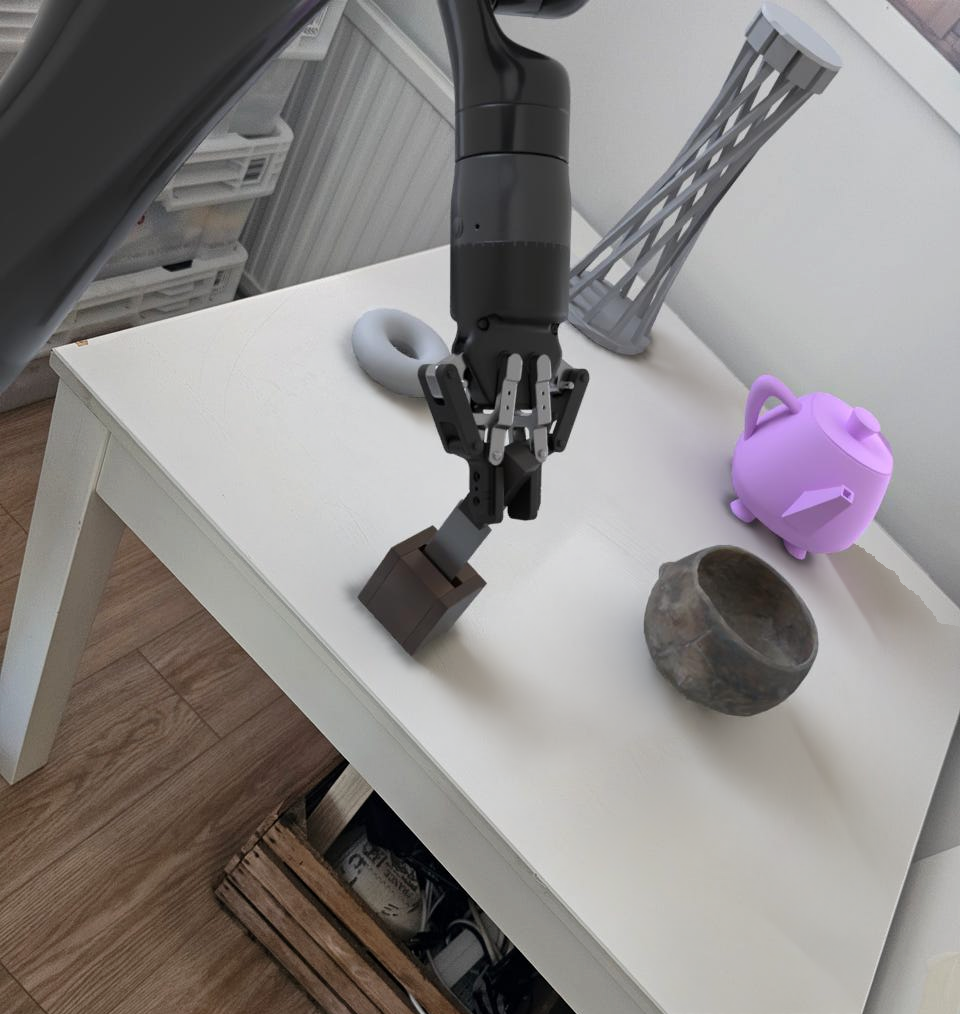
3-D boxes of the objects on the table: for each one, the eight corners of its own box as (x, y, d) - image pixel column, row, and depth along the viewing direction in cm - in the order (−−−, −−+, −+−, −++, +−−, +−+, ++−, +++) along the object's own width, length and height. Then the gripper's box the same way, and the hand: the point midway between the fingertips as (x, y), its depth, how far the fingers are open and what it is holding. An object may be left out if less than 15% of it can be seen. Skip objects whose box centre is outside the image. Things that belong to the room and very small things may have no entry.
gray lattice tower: (661, 336, 128) (870, 74, 104) (621, 368, 118) (842, 86, 95) (579, 263, 128) (769, -15, 105) (533, 289, 119) (731, -12, 95)
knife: (401, 574, 75) (497, 442, 66) (417, 565, 77) (514, 434, 68) (429, 604, 75) (529, 476, 66) (444, 594, 77) (545, 467, 67)
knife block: (356, 597, 77) (391, 547, 73) (398, 573, 81) (432, 524, 77) (410, 655, 76) (448, 608, 72) (449, 629, 80) (487, 583, 76)
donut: (331, 321, 96) (365, 399, 91) (345, 292, 93) (381, 369, 89) (421, 337, 102) (457, 410, 97) (437, 309, 99) (475, 383, 95)
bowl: (612, 581, 94) (680, 510, 87) (746, 639, 99) (819, 576, 93) (620, 704, 85) (697, 636, 78) (767, 760, 90) (850, 700, 84)
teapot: (673, 514, 106) (773, 409, 96) (697, 419, 120) (785, 320, 110) (824, 617, 109) (936, 526, 99) (829, 513, 123) (927, 424, 113)
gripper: (467, 225, 57) (464, 536, 61) (628, 249, 67) (617, 518, 71) (384, 238, 63) (387, 523, 67) (544, 259, 72) (538, 508, 76)
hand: (505, 519), depth 69 cm, fingers closed on knife, 2 cm apart
